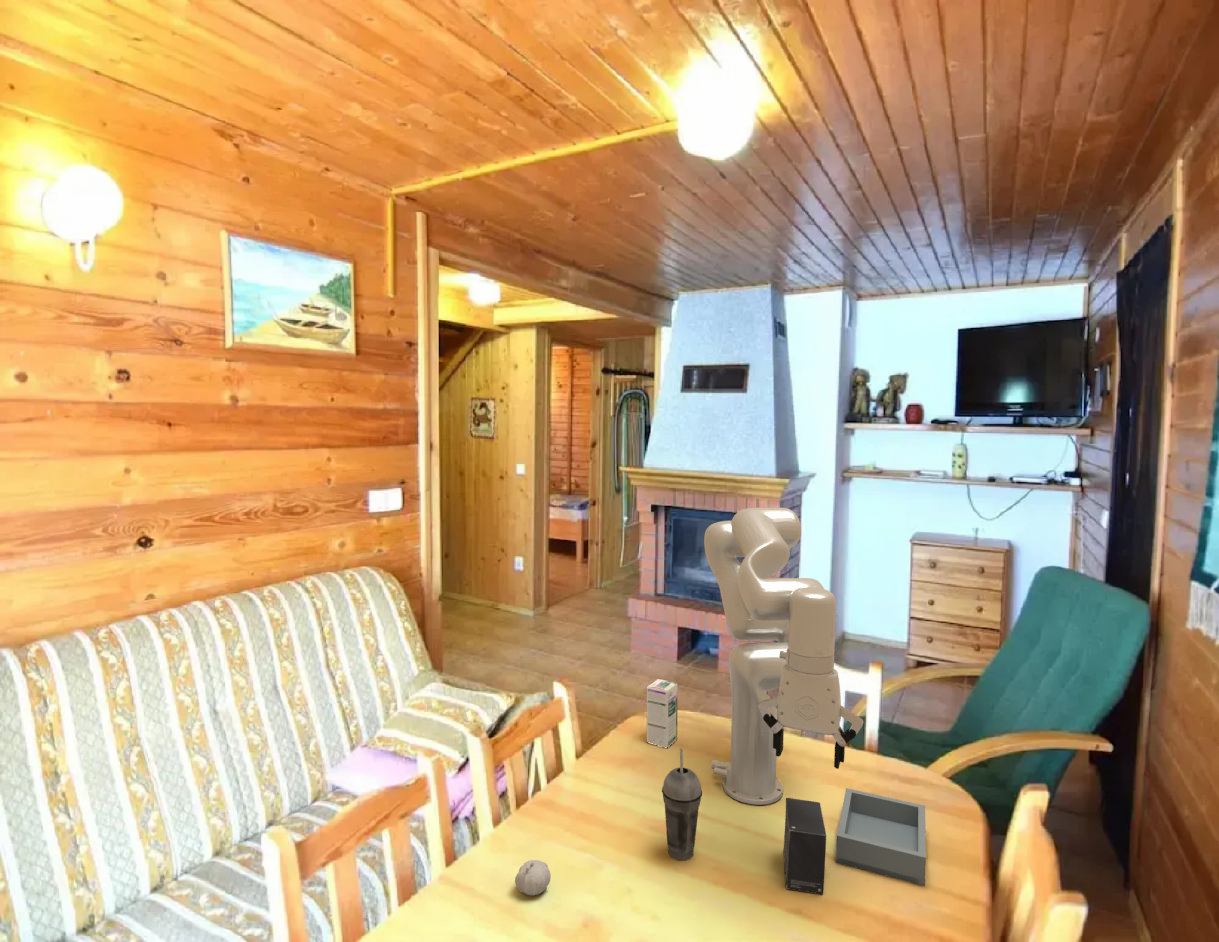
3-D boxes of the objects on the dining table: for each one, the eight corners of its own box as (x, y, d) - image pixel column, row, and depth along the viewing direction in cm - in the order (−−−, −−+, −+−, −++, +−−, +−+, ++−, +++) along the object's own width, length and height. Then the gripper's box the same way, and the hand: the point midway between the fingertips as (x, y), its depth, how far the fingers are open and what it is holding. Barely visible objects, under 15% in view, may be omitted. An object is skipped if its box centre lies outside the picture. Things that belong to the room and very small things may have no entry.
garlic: (525, 907, 108) (525, 876, 108) (509, 888, 113) (509, 858, 112) (557, 892, 112) (557, 862, 112) (540, 874, 116) (540, 845, 116)
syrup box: (667, 749, 162) (668, 690, 160) (645, 743, 165) (646, 685, 164) (677, 740, 166) (678, 682, 165) (656, 734, 169) (657, 677, 168)
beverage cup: (704, 845, 125) (706, 740, 123) (696, 869, 118) (698, 758, 117) (666, 836, 127) (668, 733, 126) (656, 860, 120) (657, 751, 119)
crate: (835, 862, 120) (836, 835, 120) (845, 811, 136) (846, 787, 136) (924, 885, 114) (926, 857, 114) (924, 830, 130) (925, 805, 130)
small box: (826, 896, 112) (828, 835, 111) (785, 890, 113) (787, 830, 112) (819, 856, 122) (821, 800, 121) (782, 851, 123) (784, 796, 123)
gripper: (755, 660, 115) (752, 758, 116) (863, 676, 108) (859, 780, 109) (764, 647, 122) (761, 739, 123) (866, 662, 115) (863, 759, 116)
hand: (807, 758), depth 116 cm, fingers open, 9 cm apart
